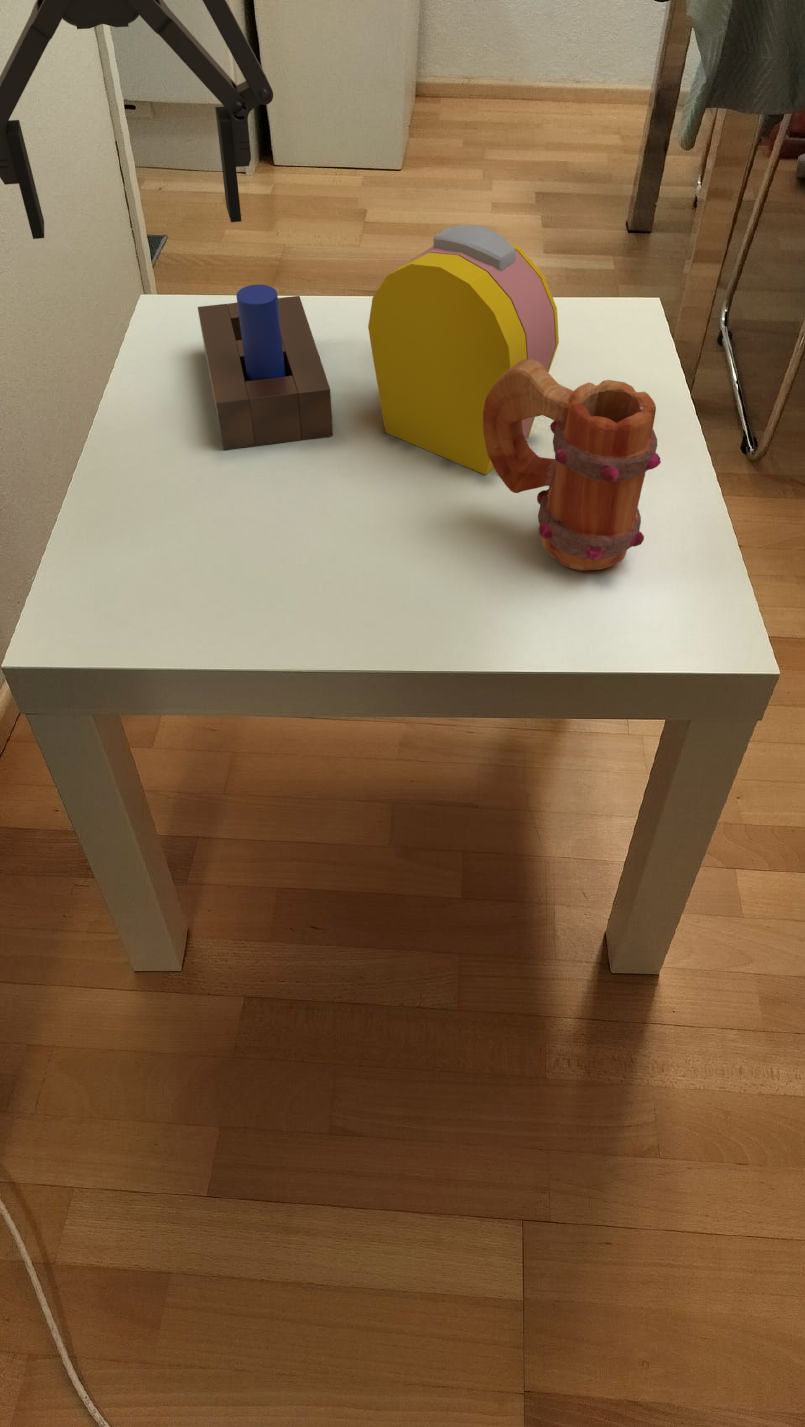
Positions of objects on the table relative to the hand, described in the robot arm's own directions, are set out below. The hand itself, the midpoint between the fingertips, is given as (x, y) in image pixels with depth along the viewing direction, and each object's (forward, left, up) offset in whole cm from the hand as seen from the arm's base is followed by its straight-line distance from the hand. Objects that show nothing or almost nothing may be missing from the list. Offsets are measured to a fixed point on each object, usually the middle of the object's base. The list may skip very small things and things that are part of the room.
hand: (138, 222), depth 71 cm
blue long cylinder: (+9, +11, -24) cm, 28 cm away
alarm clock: (+26, +4, -24) cm, 35 cm away
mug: (+30, -13, -24) cm, 40 cm away
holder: (+9, +15, -24) cm, 29 cm away
